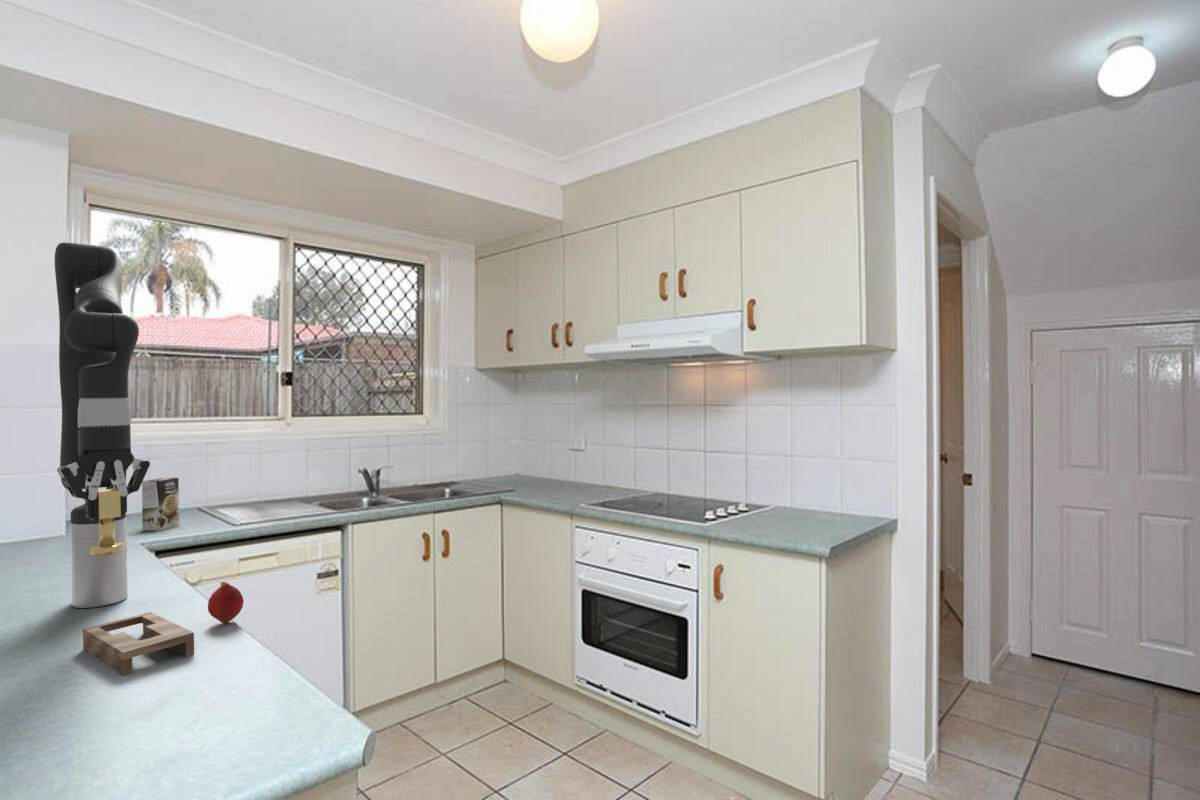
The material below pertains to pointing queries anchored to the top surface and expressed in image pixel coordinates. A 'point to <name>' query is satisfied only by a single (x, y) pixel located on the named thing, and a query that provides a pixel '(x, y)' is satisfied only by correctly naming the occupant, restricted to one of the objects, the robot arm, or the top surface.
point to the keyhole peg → (107, 522)
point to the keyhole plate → (135, 640)
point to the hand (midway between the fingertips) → (106, 518)
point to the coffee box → (160, 504)
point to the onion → (225, 603)
